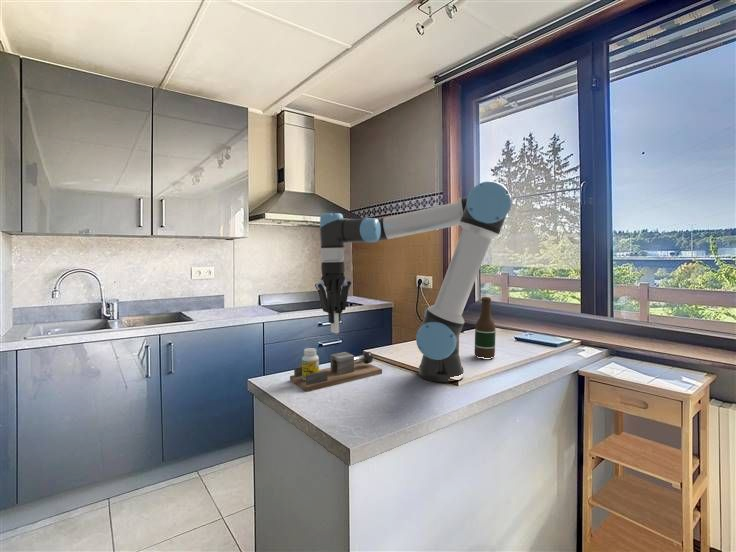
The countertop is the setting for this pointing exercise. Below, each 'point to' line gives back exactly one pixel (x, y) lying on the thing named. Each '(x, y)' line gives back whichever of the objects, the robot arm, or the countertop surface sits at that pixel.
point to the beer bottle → (485, 331)
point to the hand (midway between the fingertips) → (335, 332)
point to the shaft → (363, 358)
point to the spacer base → (335, 373)
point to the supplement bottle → (309, 362)
